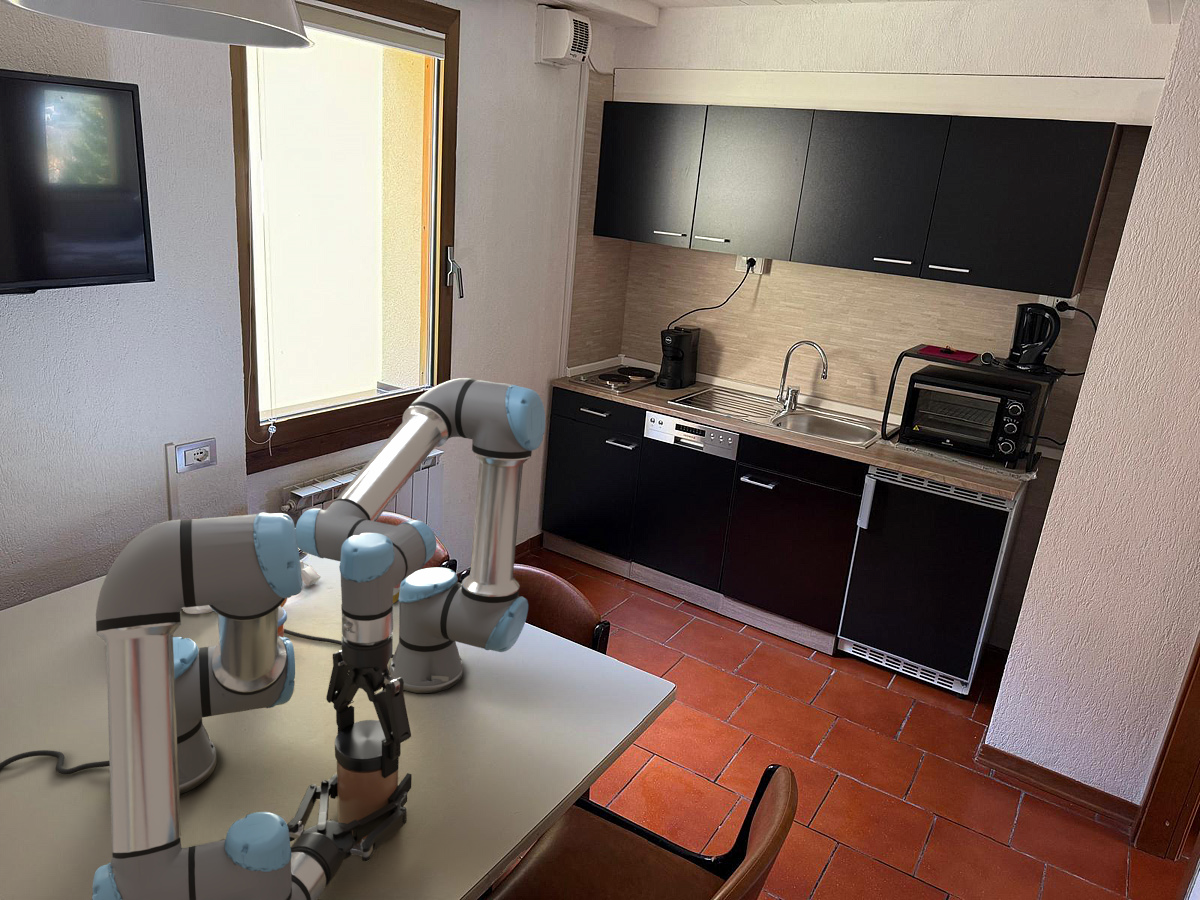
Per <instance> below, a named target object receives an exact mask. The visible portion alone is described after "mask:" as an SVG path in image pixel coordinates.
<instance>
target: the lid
mask: <svg viewBox="0 0 1200 900" xmlns="http://www.w3.org/2000/svg"><path fill="white" fill-rule="evenodd" d="M384 739H385V736H384V733H383V730H382V727H381V724H380V721H379V719H365V720H359V721H356V722H355V721H354V723H353V724H350V725H348V726H347V727H345V728H344V729H342V730H341V731H340V732H339V733H338V732H337V735H336V737H335V739H334V758H335V760H336V763H337V762H338V763H339V764H340V765H341V766H343V767H344V768H346V769H349V770H353V771H359V772H366V771H373V770H377V769H381V768H382V740H384Z"/></svg>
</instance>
